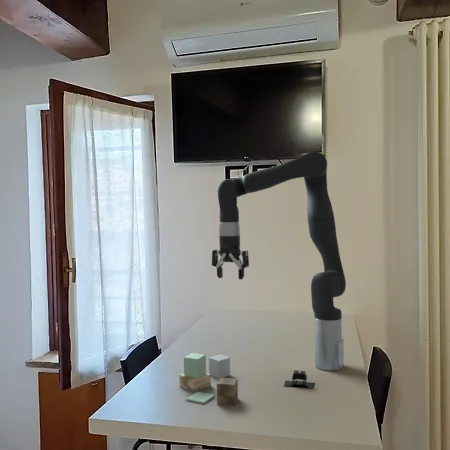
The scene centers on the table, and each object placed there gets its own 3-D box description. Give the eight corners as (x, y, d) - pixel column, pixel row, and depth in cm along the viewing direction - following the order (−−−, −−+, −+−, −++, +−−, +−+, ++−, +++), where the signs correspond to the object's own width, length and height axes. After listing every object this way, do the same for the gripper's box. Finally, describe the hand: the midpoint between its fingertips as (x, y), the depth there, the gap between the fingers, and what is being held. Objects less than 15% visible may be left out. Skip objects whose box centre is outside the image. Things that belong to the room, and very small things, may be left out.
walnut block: (237, 398, 145) (237, 378, 145) (234, 405, 140) (233, 384, 140) (221, 397, 146) (221, 377, 146) (217, 404, 141) (216, 383, 141)
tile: (214, 396, 146) (214, 394, 146) (204, 404, 141) (203, 402, 141) (197, 393, 149) (197, 391, 149) (186, 400, 144) (186, 398, 144)
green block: (206, 373, 156) (205, 354, 156) (198, 378, 152) (197, 359, 152) (192, 371, 159) (192, 352, 158) (184, 376, 154) (183, 357, 154)
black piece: (320, 383, 157) (320, 369, 157) (318, 392, 150) (318, 377, 150) (281, 381, 160) (281, 367, 160) (278, 389, 153) (278, 374, 153)
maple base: (210, 386, 156) (210, 374, 155) (193, 393, 151) (193, 380, 151) (196, 381, 161) (196, 369, 160) (179, 387, 156) (179, 374, 156)
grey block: (230, 375, 165) (229, 357, 165) (218, 378, 162) (218, 361, 161) (220, 371, 169) (220, 354, 168) (209, 375, 165) (208, 357, 165)
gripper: (251, 234, 179) (252, 278, 180) (217, 233, 186) (218, 276, 186) (242, 235, 172) (243, 281, 173) (207, 234, 179) (208, 278, 180)
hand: (230, 278), depth 180 cm, fingers open, 8 cm apart
